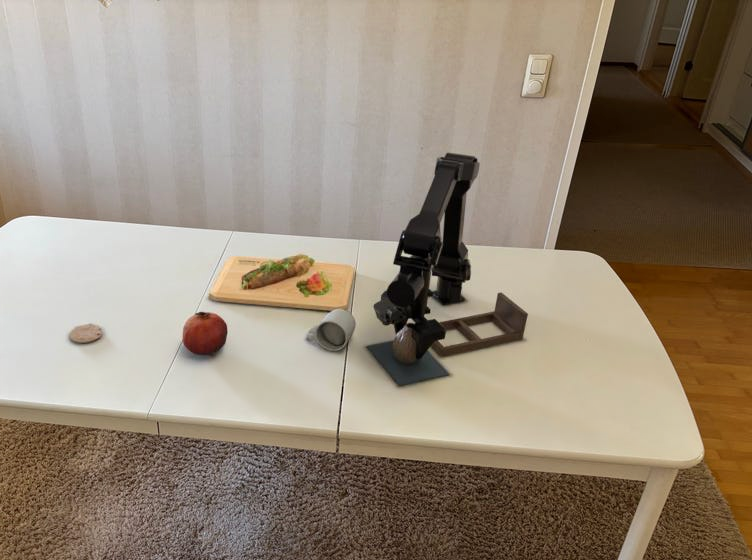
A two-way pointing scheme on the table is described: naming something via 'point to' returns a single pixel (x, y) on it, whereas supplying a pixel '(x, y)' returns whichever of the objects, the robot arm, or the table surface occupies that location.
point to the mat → (407, 365)
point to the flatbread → (85, 333)
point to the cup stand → (504, 317)
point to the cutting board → (284, 282)
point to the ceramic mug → (334, 330)
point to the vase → (405, 345)
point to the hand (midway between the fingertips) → (408, 347)
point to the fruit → (204, 333)
